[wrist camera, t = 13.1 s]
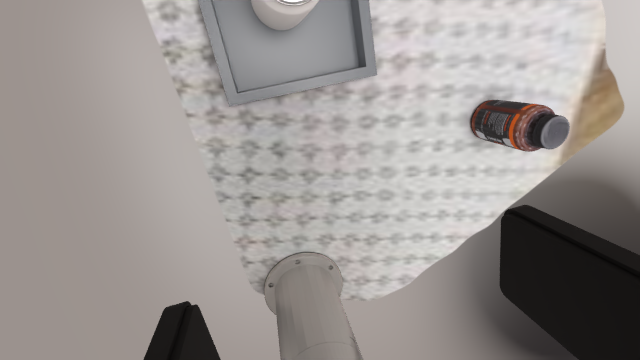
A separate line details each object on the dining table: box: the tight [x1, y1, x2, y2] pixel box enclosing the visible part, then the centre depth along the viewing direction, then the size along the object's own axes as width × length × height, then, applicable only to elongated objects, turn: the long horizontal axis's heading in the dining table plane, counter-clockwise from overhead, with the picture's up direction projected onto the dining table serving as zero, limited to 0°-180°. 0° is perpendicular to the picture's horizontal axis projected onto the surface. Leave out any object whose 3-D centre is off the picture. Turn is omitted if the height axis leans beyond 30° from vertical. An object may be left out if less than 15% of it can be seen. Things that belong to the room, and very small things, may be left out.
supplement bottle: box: [472, 100, 570, 151], centre depth 41 cm, size 6×6×11 cm
